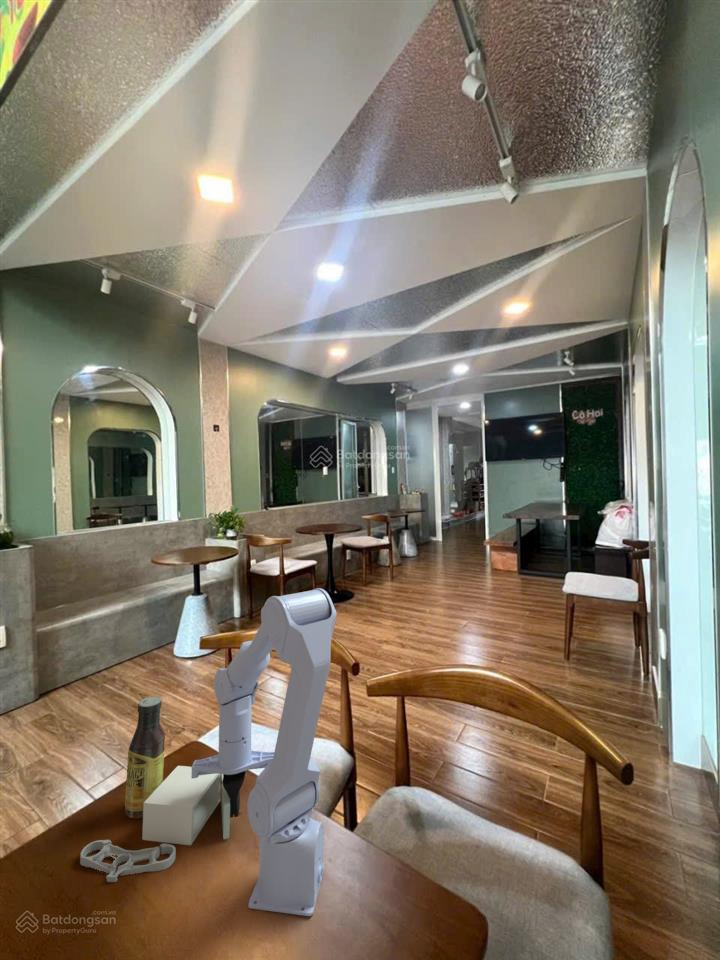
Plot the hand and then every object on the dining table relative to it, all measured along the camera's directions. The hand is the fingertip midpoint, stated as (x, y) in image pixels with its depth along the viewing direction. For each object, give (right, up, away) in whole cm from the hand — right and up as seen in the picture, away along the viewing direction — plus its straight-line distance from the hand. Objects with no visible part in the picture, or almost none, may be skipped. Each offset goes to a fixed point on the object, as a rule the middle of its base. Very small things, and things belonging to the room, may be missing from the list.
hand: (234, 813), depth 70 cm
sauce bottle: (-19, -3, +4) cm, 19 cm away
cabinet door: (-2, -2, +1) cm, 3 cm away
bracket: (-15, -2, -7) cm, 17 cm away
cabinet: (-10, -2, +1) cm, 10 cm away
